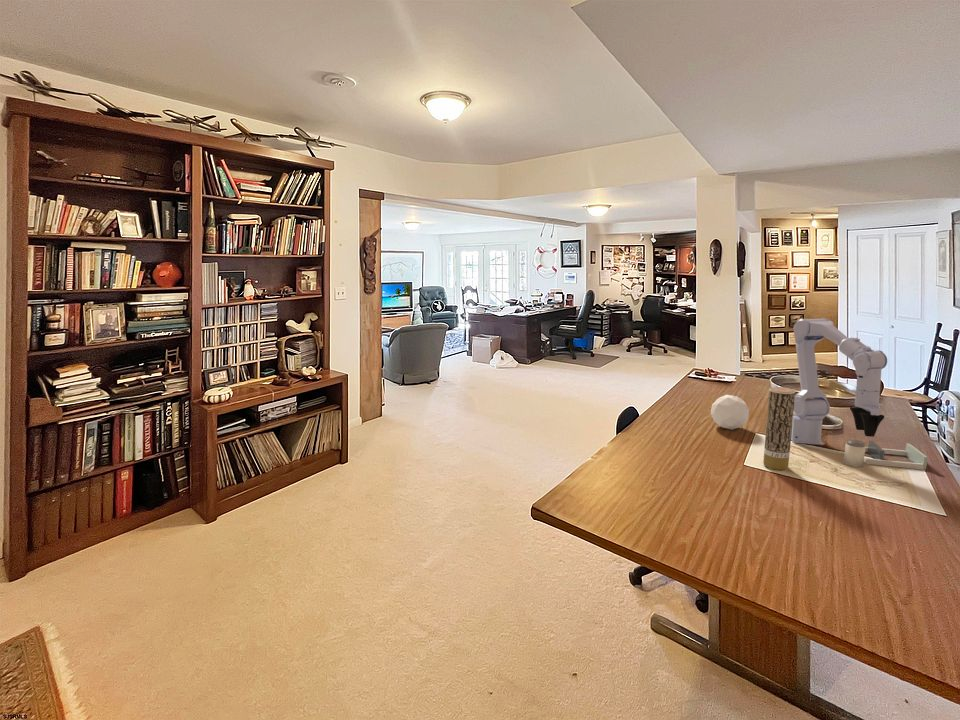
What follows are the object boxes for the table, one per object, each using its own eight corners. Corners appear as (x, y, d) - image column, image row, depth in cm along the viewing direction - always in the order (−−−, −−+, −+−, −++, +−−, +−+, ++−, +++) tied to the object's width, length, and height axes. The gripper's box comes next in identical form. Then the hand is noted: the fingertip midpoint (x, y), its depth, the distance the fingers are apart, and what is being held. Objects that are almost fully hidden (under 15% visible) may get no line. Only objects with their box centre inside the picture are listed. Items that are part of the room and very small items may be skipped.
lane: (866, 463, 154) (868, 451, 153) (853, 450, 165) (854, 438, 165) (925, 469, 148) (927, 457, 148) (908, 455, 160) (909, 443, 159)
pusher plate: (878, 462, 154) (880, 450, 153) (867, 451, 163) (869, 440, 162) (882, 462, 153) (884, 450, 153) (871, 452, 162) (872, 440, 162)
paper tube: (758, 463, 156) (764, 387, 152) (778, 461, 157) (785, 386, 152) (772, 471, 149) (779, 392, 145) (793, 470, 150) (800, 391, 146)
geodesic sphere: (698, 407, 200) (711, 386, 190) (729, 405, 201) (744, 384, 191) (713, 436, 190) (727, 416, 180) (745, 434, 192) (762, 414, 182)
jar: (846, 466, 152) (848, 443, 151) (841, 460, 157) (843, 438, 156) (865, 468, 150) (868, 445, 149) (860, 462, 155) (862, 440, 154)
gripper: (893, 394, 141) (890, 440, 143) (874, 386, 155) (871, 427, 156) (864, 393, 144) (861, 438, 145) (848, 385, 157) (845, 426, 159)
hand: (864, 432), depth 151 cm, fingers open, 7 cm apart
